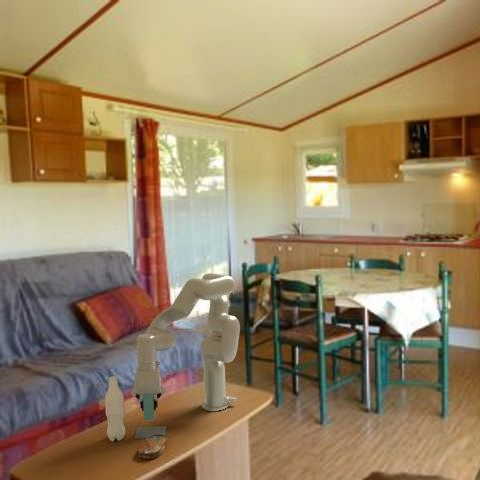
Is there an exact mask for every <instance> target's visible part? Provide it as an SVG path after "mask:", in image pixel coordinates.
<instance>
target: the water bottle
mask: <svg viewBox="0 0 480 480" xmlns="http://www.w3.org/2000/svg"><path fill="white" fill-rule="evenodd" d="M117 377H118V376H116V375H114V376H113V375H112V376H110V377H109V379H108V380H109V381H108V387H107V388H108V389H107V390H106V393H105V396H104V403H105V416H106V418H107V427H106V428H107V429H106V436H107V438H108V439H109V441H110V442H115V440H117V441H118V442H119V441H122V440H123V438H125V435H126V428H125V423H124V416H125V406H124V394H123V392H122V390H121V389H120V387H119V385H118V384H119V382H118V378H117Z"/></svg>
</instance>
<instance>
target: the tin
mask: <svg viewBox="0 0 480 480" xmlns="http://www.w3.org/2000/svg"><path fill="white" fill-rule="evenodd" d="M167 439H168V438H167V436H166V435H165V436H164V435H160V434H157V435H151V436H149V437H147V438H146V439H144V440H143V442H142V443H141V444H140V446H139V447H138V456H139V458H140V459H142V460H154V459H157V458H158V457H160V455H161V454H162V453H163V451H164V449H165V447H167V442H168V441H167Z"/></svg>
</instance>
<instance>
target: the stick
mask: <svg viewBox="0 0 480 480" xmlns="http://www.w3.org/2000/svg"><path fill="white" fill-rule="evenodd" d="M143 407H144V411H143V421H144V422H145V421H155V418H156V411H154V395H153V393H146V394H143Z"/></svg>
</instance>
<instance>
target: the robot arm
mask: <svg viewBox="0 0 480 480" xmlns="http://www.w3.org/2000/svg"><path fill="white" fill-rule="evenodd" d="M235 287H236V283H235V280H234V278H233V277H232V276H230V275H226V274H219V273H213V272H210V273H205V274H203V275H202V277H201V278H195V277H193V278H189V279H188V280H187V281H186V282H185V284H184V285H183V286H182V289H181V290H180V292H179V293H178V294H177V297H176V298H175V299H174V301H173V303H172V304H171V305H170V306H169V307H167V308H165V309H164V310H163V311H161V312H160V313H159V314H158V315H157V316H156V317H155V318H153V320H152V321H151V323H150V325H148V328H147V329H146V331H145V333H141V334H139V335H138V336H137V337H136V352H137V353H136V354H137V357H136V358H137V367H136V368H135V375H134V376H135V377H134V381H135V382H134V387H133V389H132V390H131V392H130V395H131V396H133V397H135V398H136V399H137V400H138V401H139V403H140V404H139V405H140V407H139V408H140V409H141V412H144V407H143V394H146V393H153V395H154V411H155V412H156V410H157V408H158V405H159V403H158V400H159V399H160V398H161V397H162V396H163V395H164V394H166V392H167V390H166V388H165V386H164V385H163V384H162V378H161V370H160V367H159V366H161V361H158V359H157V358H158V357H157V353H158V352H160V351H169V350H171V349H172V348H174V346H175V345H176V342H177V340H176V339H177V338H176V336H175V335H174V333H172V332H170V331H168V330H166V329H167V327H169V326H170V325H171V324H173V323H175V322H178V321H181V320H183V319H186V318H189V316H190V315H191V313H192V311H193V309H194V308H195V307H196V305H197V303H198V302H199V300H203V301H209V310H208V316H207V323H206V324H207V325H206V327H207V330H208V332H210V334H211V333H212V334H214V335H218V336H221V337H216V336H206V337H205V338H203V340H201V342H200V349H199V350H200V355H201V358H202V359H201V360H202V365H203V388H204V390H203V391H204V392H203V393H204V401H202V402H201V405H200V406H201V409H202V410H205V411H208V412H219V410H221V411H224V410H226V409H228V408H229V407H230V403H231V402H232V403H233V402H234V403H235V402H237V398H236V396H235V397H234V395H227V392H226V391H227V390H226V369H225V368H226V367H225V363H231V362H232V361H234V359H235V358H236V355H237V353H238V352H237V351H238V346H239V339H240V332H241V331H240V330H241V324H240V321H239V319H238V318H237V317H236V316H234V315H231V314H229V308H230V307H229V306H230V305H229V304H230V300H229V295H231V294H232V293H233V292H234V289H235ZM228 406H229V407H228ZM227 407H228V408H227ZM225 408H226V409H225ZM223 409H224V410H223Z"/></svg>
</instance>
